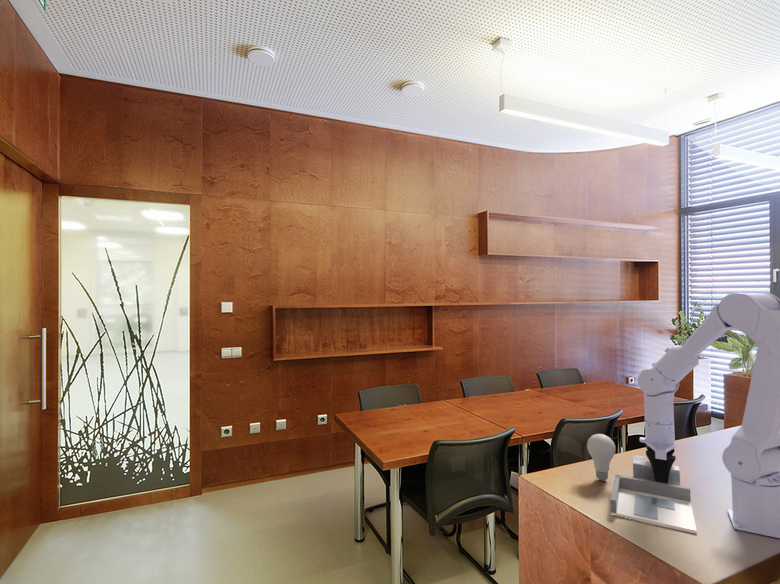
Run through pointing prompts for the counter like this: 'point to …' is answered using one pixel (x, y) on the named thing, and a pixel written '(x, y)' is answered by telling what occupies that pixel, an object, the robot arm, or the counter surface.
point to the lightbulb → (601, 454)
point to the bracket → (645, 471)
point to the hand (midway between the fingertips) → (661, 481)
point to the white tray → (653, 503)
